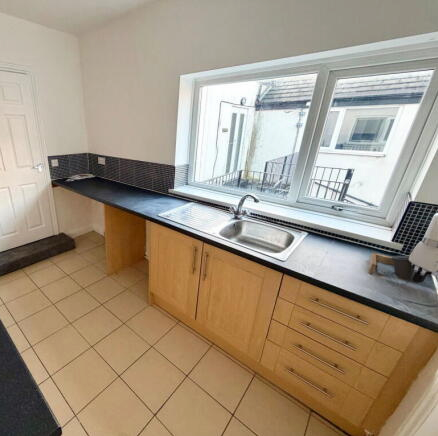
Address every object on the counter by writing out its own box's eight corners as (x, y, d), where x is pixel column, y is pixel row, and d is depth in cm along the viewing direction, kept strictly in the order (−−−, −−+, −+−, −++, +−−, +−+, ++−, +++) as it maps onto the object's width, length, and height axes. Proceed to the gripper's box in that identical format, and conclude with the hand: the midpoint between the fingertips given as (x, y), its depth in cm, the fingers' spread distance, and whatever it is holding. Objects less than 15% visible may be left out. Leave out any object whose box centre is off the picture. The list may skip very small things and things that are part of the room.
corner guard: (410, 271, 116) (414, 262, 114) (415, 285, 106) (419, 276, 104) (368, 260, 125) (371, 252, 124) (368, 272, 115) (372, 263, 113)
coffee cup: (419, 278, 108) (420, 256, 107) (414, 282, 104) (414, 259, 103) (394, 274, 115) (394, 253, 114) (388, 278, 111) (388, 256, 110)
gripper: (468, 251, 91) (446, 292, 97) (422, 235, 105) (405, 271, 111) (451, 252, 90) (430, 293, 96) (407, 235, 104) (391, 272, 110)
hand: (417, 281), depth 104 cm, fingers closed
